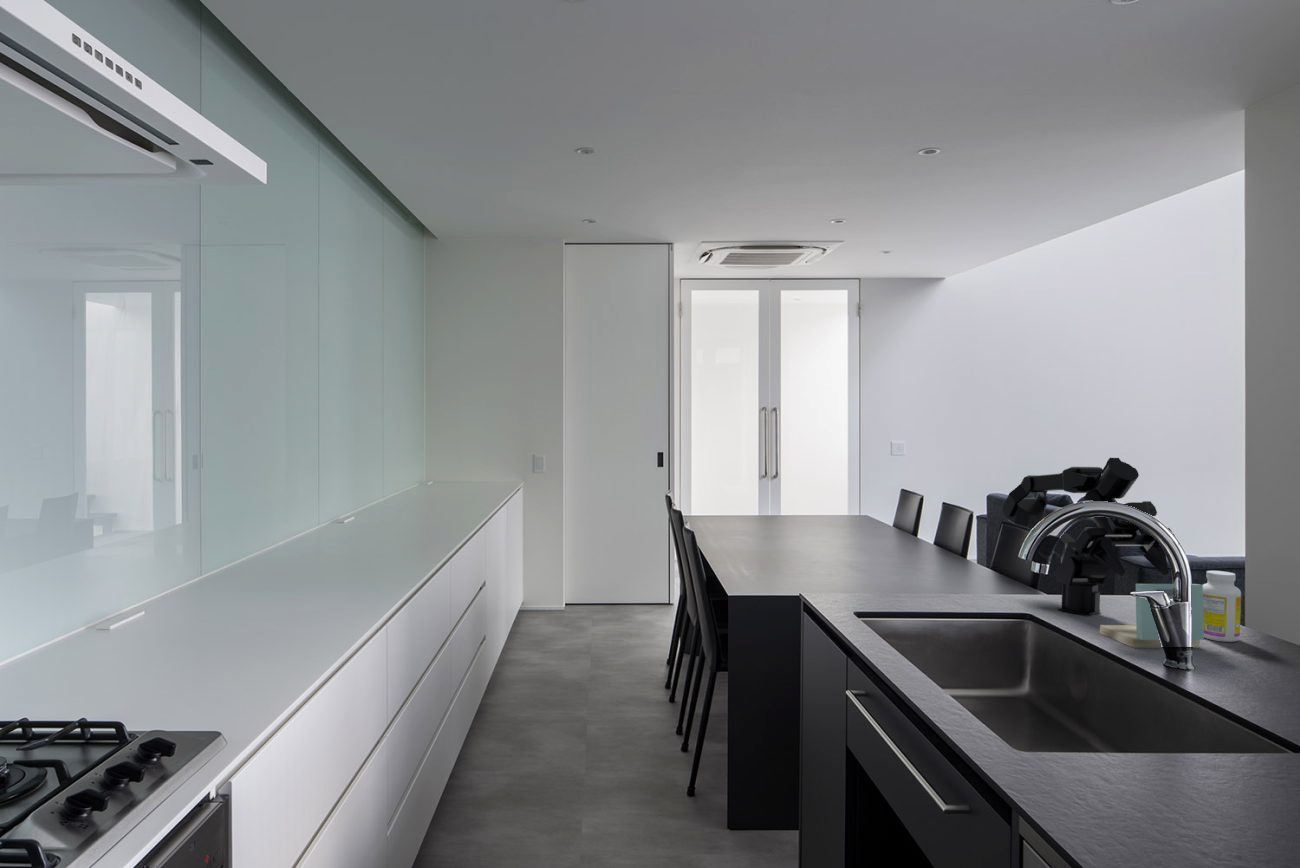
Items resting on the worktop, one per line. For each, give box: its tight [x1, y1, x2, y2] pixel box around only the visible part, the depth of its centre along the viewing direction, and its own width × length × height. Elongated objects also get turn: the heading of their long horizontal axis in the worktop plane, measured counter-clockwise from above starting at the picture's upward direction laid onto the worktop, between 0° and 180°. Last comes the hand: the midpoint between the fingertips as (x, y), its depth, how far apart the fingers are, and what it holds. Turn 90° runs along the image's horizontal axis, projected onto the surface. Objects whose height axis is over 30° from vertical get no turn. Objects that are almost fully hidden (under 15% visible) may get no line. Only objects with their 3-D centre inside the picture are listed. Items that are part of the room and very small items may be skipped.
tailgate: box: [1135, 583, 1205, 641], centre depth 154 cm, size 2×12×10 cm, turn 95°
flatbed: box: [1099, 624, 1201, 649], centre depth 160 cm, size 10×13×2 cm
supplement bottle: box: [1202, 570, 1242, 643], centre depth 162 cm, size 7×7×13 cm
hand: (1145, 574), depth 163 cm, fingers open, 9 cm apart
